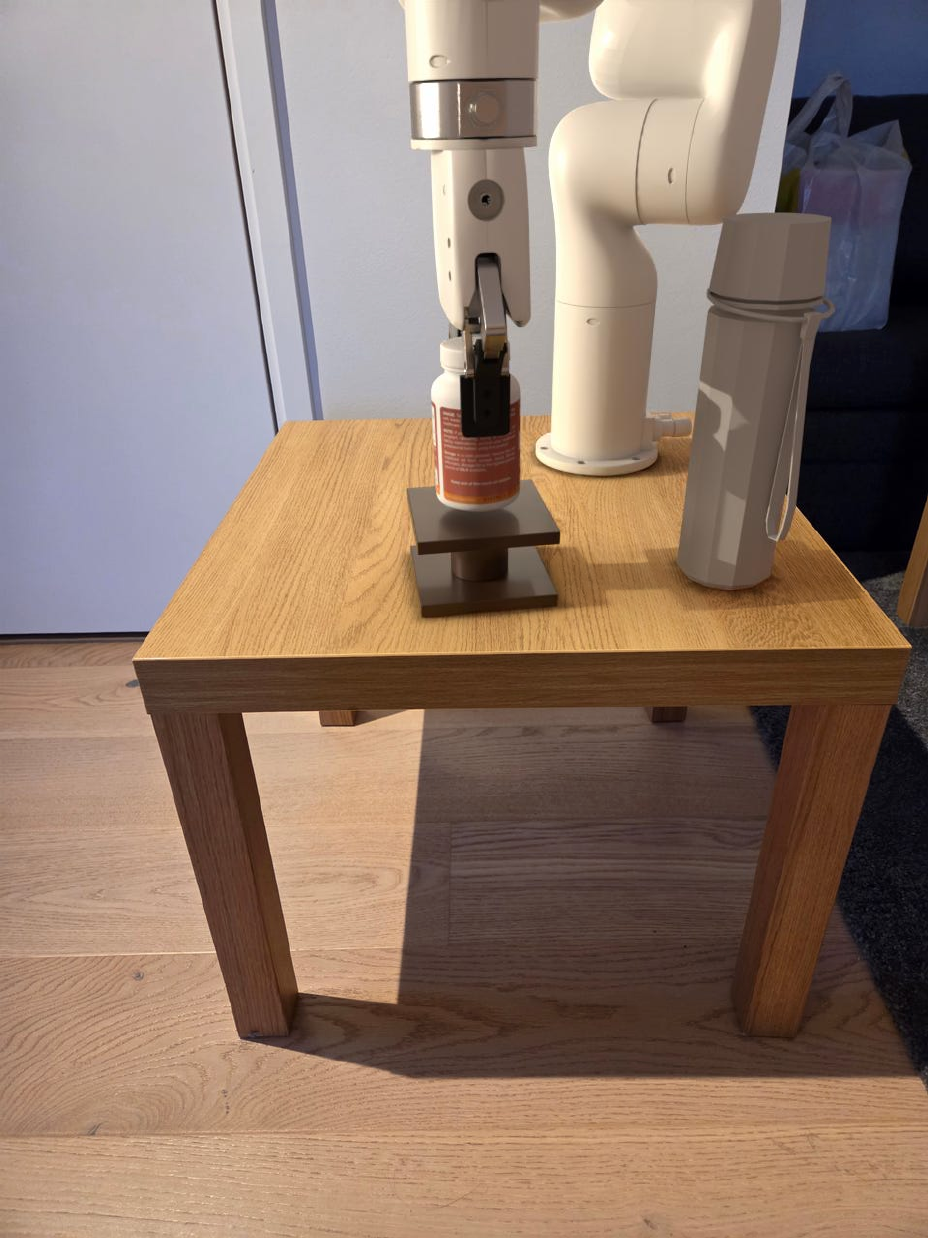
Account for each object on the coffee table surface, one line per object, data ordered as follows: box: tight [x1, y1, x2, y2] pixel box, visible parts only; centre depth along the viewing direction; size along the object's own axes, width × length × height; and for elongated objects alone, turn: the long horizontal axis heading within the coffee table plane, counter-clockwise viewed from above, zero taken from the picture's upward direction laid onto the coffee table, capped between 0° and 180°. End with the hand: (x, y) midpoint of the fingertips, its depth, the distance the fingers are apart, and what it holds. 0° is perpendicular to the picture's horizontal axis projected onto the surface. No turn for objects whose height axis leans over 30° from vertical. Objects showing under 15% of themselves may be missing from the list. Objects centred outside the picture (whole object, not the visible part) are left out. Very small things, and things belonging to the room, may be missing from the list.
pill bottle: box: [430, 337, 522, 512], centre depth 59 cm, size 6×6×11 cm
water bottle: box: [676, 212, 836, 591], centre depth 58 cm, size 9×8×25 cm
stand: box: [406, 478, 561, 619], centre depth 64 cm, size 10×10×6 cm
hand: (477, 416), depth 59 cm, fingers closed on pill bottle, 6 cm apart
